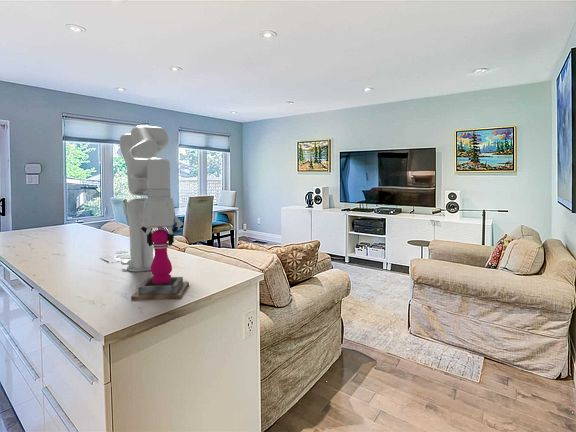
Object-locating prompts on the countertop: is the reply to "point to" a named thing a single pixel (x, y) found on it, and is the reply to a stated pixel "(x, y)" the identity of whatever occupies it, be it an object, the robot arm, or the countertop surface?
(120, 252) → the tray
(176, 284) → the mill stand
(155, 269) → the pepper mill
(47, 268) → the countertop surface
